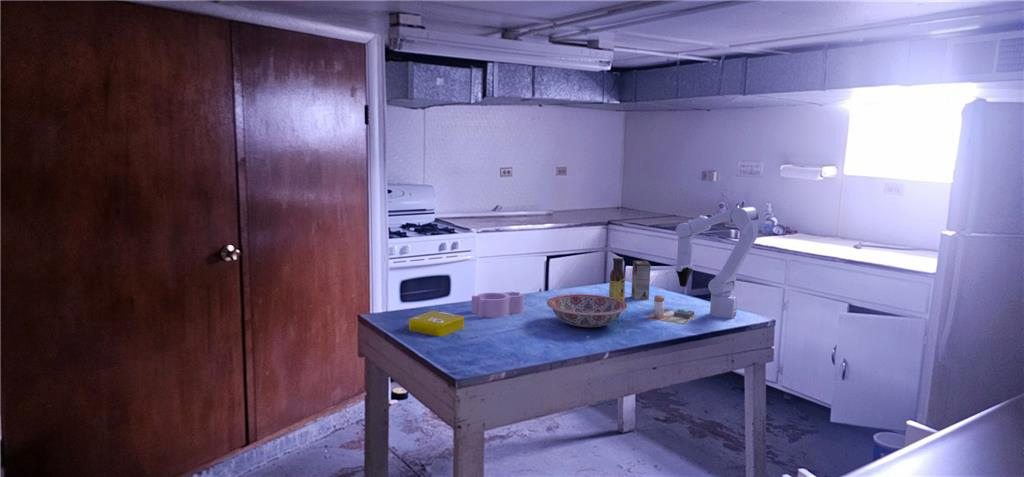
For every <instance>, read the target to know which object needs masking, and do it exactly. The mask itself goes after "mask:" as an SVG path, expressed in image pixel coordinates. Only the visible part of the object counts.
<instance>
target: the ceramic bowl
mask: <svg viewBox="0 0 1024 477" xmlns="http://www.w3.org/2000/svg"><path fill="white" fill-rule="evenodd" d="M546 305H547V307H548V308H550V309H552V311H553V313H554V315H555V316H556V317H557V318H558V319H559V320H561V321H562V322H564V323H566V324H568V325H571V326H573V327H575V326H576V327H581V328H598V327H603V326H607V325H609V324H611V323H613V322H614V321H615V320H616V319H618V318H619V316H620V315H621V313H622V312H624V311H626V310H627V309H628V304H627V303H626V302H625V301H624V302H623V301H621V300H619V299H615V298H611V297H609V296H605V295H598V294H583V293H582V294H581V293H579V294H577V293H575V294H574V293H573V294H564V295H557V296H553V297H551V298H549V299H547V301H546Z"/></svg>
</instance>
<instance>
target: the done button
mask: <svg viewBox="0 0 1024 477" xmlns="http://www.w3.org/2000/svg"><path fill="white" fill-rule="evenodd" d="M679 309H680V312H681V313H687V314H688V312H689V309H687V308H686V309H685V308H684V309H683V308H679Z"/></svg>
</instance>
